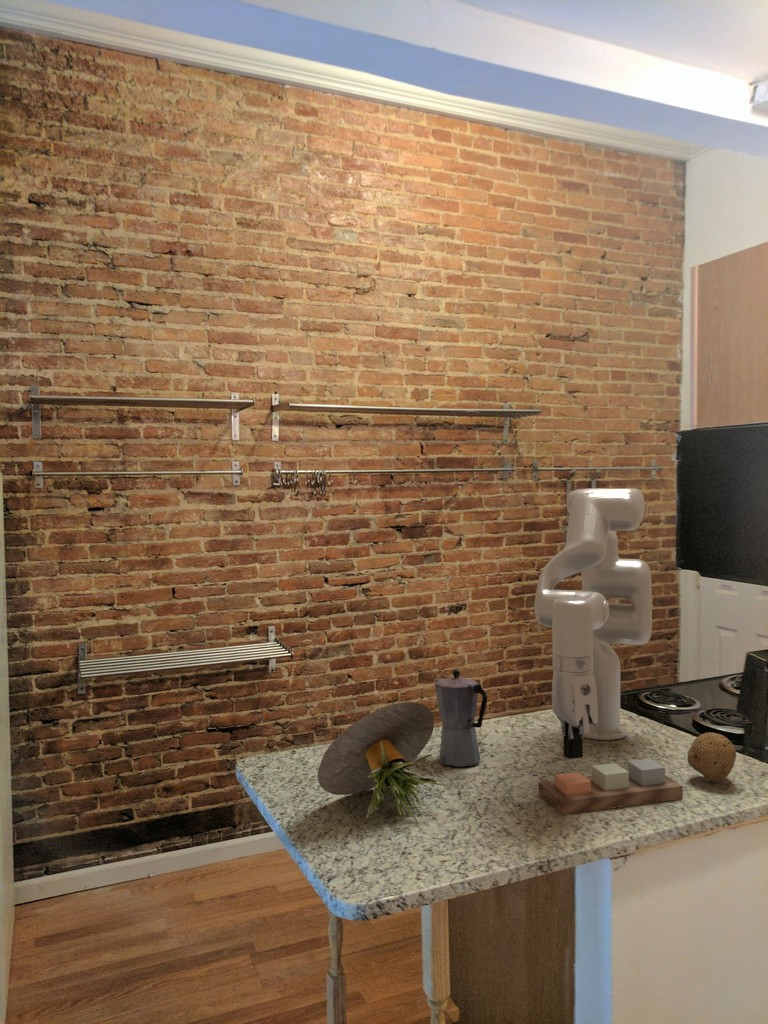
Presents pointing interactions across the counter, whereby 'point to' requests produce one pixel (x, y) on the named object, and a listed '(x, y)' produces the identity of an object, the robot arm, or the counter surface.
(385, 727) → the potted plant
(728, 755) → the natural sponge
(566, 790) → the terracotta button
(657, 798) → the walnut panel
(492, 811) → the counter surface
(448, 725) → the moka pot
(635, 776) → the slate button
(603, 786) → the sage button
